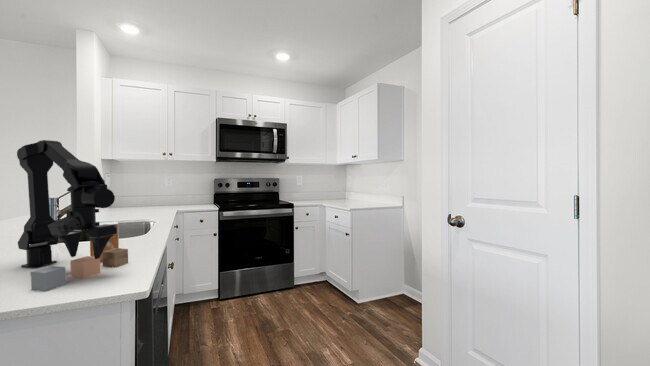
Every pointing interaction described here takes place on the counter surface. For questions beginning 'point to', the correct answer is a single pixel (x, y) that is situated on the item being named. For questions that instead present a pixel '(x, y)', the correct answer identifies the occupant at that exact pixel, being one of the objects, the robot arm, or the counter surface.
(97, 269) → the terracotta cube
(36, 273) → the slate cube
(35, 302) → the counter surface
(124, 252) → the walnut cube
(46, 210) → the robot arm
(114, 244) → the small box
